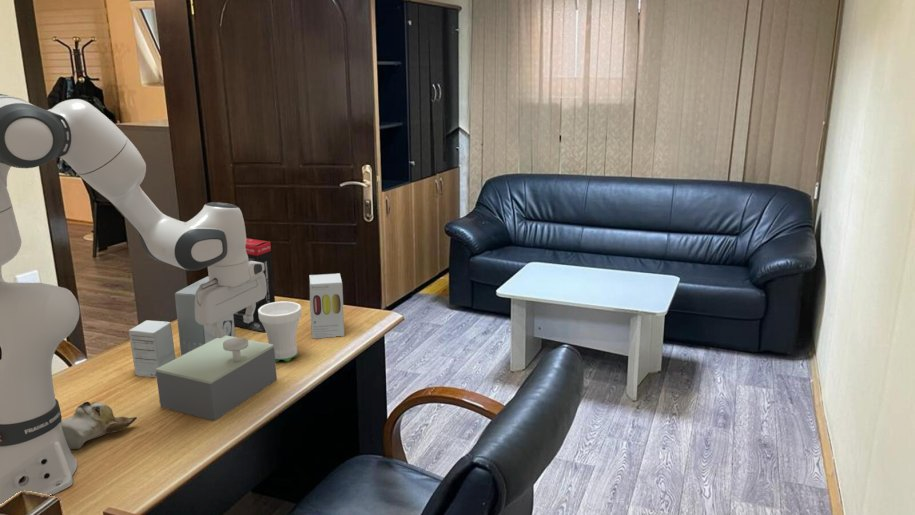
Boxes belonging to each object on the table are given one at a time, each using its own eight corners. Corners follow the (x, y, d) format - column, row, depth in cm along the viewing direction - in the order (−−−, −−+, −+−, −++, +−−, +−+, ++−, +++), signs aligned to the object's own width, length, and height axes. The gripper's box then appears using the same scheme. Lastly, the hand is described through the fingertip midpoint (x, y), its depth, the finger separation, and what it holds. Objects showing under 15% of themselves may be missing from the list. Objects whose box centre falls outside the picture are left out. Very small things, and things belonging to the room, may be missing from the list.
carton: (214, 420, 151) (210, 384, 148) (160, 407, 157) (155, 371, 154) (276, 380, 170) (274, 347, 168) (226, 369, 176) (223, 337, 174)
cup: (296, 345, 191) (292, 298, 187) (310, 359, 182) (307, 310, 178) (256, 354, 185) (252, 306, 181) (269, 369, 176) (265, 318, 172)
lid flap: (213, 384, 148) (211, 362, 146) (155, 371, 154) (152, 350, 153) (276, 347, 167) (275, 327, 166) (223, 337, 174) (221, 318, 172)
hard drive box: (207, 367, 177) (199, 295, 172) (180, 364, 179) (172, 293, 173) (237, 343, 192) (230, 277, 187) (212, 341, 194) (205, 275, 188)
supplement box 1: (152, 363, 179) (146, 319, 176) (177, 366, 178) (171, 321, 174) (134, 376, 172) (127, 329, 169) (160, 378, 171) (154, 332, 167)
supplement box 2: (312, 339, 195) (308, 284, 191) (311, 327, 204) (307, 274, 199) (345, 336, 197) (342, 281, 193) (343, 325, 206) (340, 272, 201)
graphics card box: (279, 326, 205) (272, 239, 198) (263, 334, 199) (256, 244, 192) (235, 317, 212) (227, 233, 205) (219, 324, 206) (210, 238, 198)
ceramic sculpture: (38, 409, 138) (104, 383, 151) (42, 447, 140) (107, 418, 153) (71, 421, 133) (137, 393, 146) (75, 461, 135) (140, 430, 148)
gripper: (206, 288, 142) (214, 349, 146) (268, 261, 160) (273, 316, 164) (183, 284, 144) (191, 344, 149) (247, 258, 162) (252, 312, 166)
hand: (235, 329), depth 156 cm, fingers open, 8 cm apart
